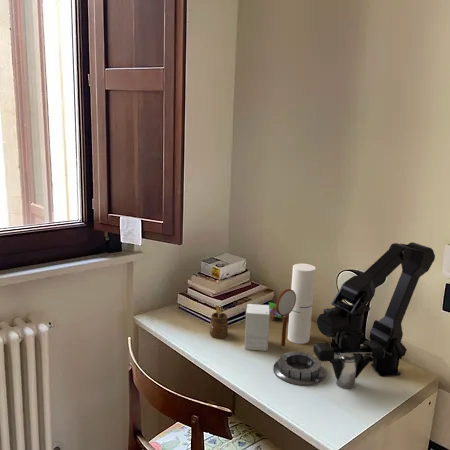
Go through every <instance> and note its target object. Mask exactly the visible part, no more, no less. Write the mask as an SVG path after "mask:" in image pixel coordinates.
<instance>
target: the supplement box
mask: <svg viewBox="0 0 450 450" xmlns="http://www.w3.org/2000/svg"><path fill="white" fill-rule="evenodd" d="M270 318H271V316H270V311H269V304H268V305H267V304H254V303H247V305H246V310H245V328H244V329H245V331H244V333H245V335H244V349H245V350H249V351H250V350H252V351H264V352H267V351H268V345H269V333H270V331H269V329H270Z"/></svg>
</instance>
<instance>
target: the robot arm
mask: <svg viewBox="0 0 450 450" xmlns="http://www.w3.org/2000/svg"><path fill="white" fill-rule="evenodd" d="M435 259H436V255H435V252H434V250H433V248H432V247H429V246H426V245H422V244H420V243H417V242H415V241H413V242H409V243H408V244H405V243H397V242H396V243H395V242H394V243H391V245H390V246H389V247H388V250H386V251H385V253H383V254H382V255H381V256H380V257H379V258H378V259H377V260H376V261H375V262H374V263H372V264H371V265H370V266H369V267H368V268H367V269H366V270H365V271H364V272H362V273H361V274H357V275H354V276H351V277H350V278H348V279H347V280H346V281H345V282H343V284H342V285H341V286H340V288H339V290H338V291H337V293H336V295H335V297H333V299H332V301H331V305H332V306H333V307H331V308H324V309H323V312H322V313H321V314H319V315H318V317H317V319H316V323H317V324H316V326H317V329H318V330H319V332H320V333H321V334H322V335H324V336H326V338H331V340H334V342H335V344H336V345H338V346H332V345H330V343H329V342H316V343H315V344H314V345H313V353H314V356H315V357H317V358H318V359H319V361H320V362H321V363H322V362H323V363H324V362H330V364H331V365H332V368H333V372H334V377H335V378H336V380H337V379H339V375H340V368H341V360H340V359H339V356H340V355H341V354H353V355H355V356H356V358H357V368H356V377H355V379H357V378H358V376H359V375H360V374H361V373H362V371H363V370H364V369H365V368H366V367H367V365H368V364H369V363H370V362H372V363H371V364H370V365H371V367H372V368H373V370H374V371H375V372H376V373H377V374H378V376H379V377H391V376H401V372H400V370H399V365H400V364H399V363H400V360H402V358H403V357H405V355H406V353H407V350H408V349H407V347H406V346H405V345H404V344H403V343H402V339H403V334H404V333H403V327H402V322H403V319H404V317H405V315H406V312H407V309H408V308H409V304H410V303H411V299H412V297H413V295H414V292H415V290H416V287H417V284H418V282H419V279H420V278H421V277H422V276H423V275H424V274H426V273H427V272H429V270H430V269H431V266H432V265H433V262H435ZM399 266H401V269H402V271H401V273H400V276H399V278H398V281H397V283H396V286H395V288H394V291H393V294H392V295H391V299H390V302H389V304H388V306H387V309H386V310H385V314H384V316H383V317H382V318H380V319H379V320H377V319H375V320H374V321H373V323H372V327H371V328H370V330H369V340H364V341H363V343H362V339H364V337H365V334H364V333H363V328H364V327H363V325H364V318H365V312H368V311H370V310H371V307H369V306H368V304H369V303H370V302H371V300H372V299H373V297H375V294H376V288H378V286H379V285H380V284H381V283H382V282H383V281H384V280H385V279H386V278H387V277H388V276H390V275H391V273H393V272H394V271H395V270H396V269H397V268H398V267H399ZM343 300H344V301H346V302H348V303H349V304H348V303H346V302H344V301H343Z"/></svg>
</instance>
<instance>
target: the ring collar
mask: <svg viewBox="0 0 450 450" xmlns="http://www.w3.org/2000/svg"><path fill="white" fill-rule="evenodd" d="M272 370H273V373H274V375H275V376H276V377H277V378H278V379H280V380H281V381H283V382H284V383H287V384H289V385H293V386H294V385H295V386H302V387H305V386H306V387H307V386H314V385H317V384H319V383H321V382H323V381H324V379H325V377H326V370H325V367H323V365H322V361H319V359H318V358H317V356H316V355H313V354H311V353H308V352H303V351H289V352H286V353H283V354H281V355H280V357H279V358H278V360H277V361H276V362H275V363H274V364H273V369H272Z"/></svg>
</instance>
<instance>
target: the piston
mask: <svg viewBox="0 0 450 450" xmlns="http://www.w3.org/2000/svg"><path fill="white" fill-rule="evenodd" d="M339 359H340V360H341V368H340V375H339V379H336V382H335V383H336V384H335V385H336V386H337V387H338V388H340V389H342V390H352V389H354V388H355V383H356V378H355V377H356V368H357V358H356V354H340V355H339Z"/></svg>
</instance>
